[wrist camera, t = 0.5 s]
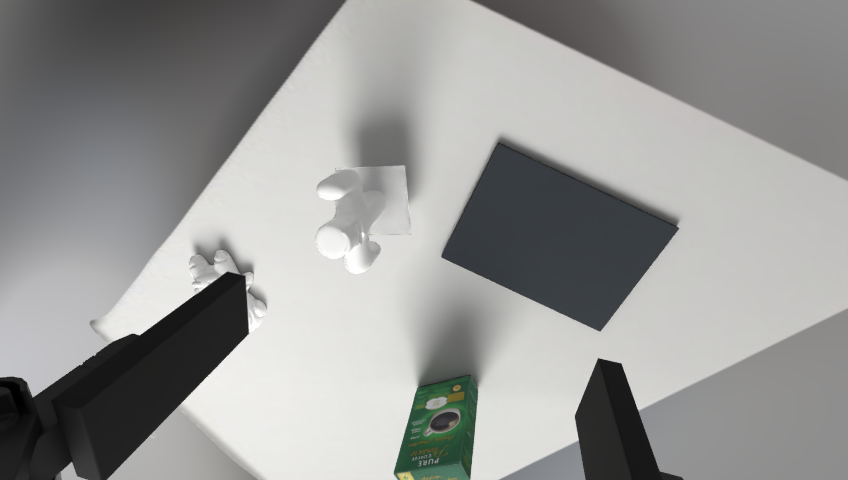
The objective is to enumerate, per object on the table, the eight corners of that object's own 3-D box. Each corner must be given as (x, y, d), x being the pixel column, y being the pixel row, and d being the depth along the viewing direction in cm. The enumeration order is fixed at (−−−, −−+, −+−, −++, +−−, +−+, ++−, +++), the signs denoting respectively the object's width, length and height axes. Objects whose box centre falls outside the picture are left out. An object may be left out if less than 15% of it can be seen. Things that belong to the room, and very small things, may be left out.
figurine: (357, 232, 47) (300, 296, 34) (345, 150, 44) (277, 184, 30) (418, 232, 46) (384, 298, 32) (411, 147, 43) (370, 181, 29)
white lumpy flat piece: (243, 245, 51) (229, 254, 48) (274, 327, 55) (262, 340, 52) (184, 253, 53) (167, 263, 50) (218, 332, 57) (204, 345, 54)
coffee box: (423, 403, 55) (402, 494, 43) (414, 386, 54) (391, 474, 42) (479, 390, 53) (474, 482, 41) (470, 372, 52) (463, 461, 40)
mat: (441, 255, 47) (441, 257, 46) (498, 142, 41) (498, 143, 41) (599, 328, 47) (600, 331, 46) (677, 226, 41) (679, 228, 41)
